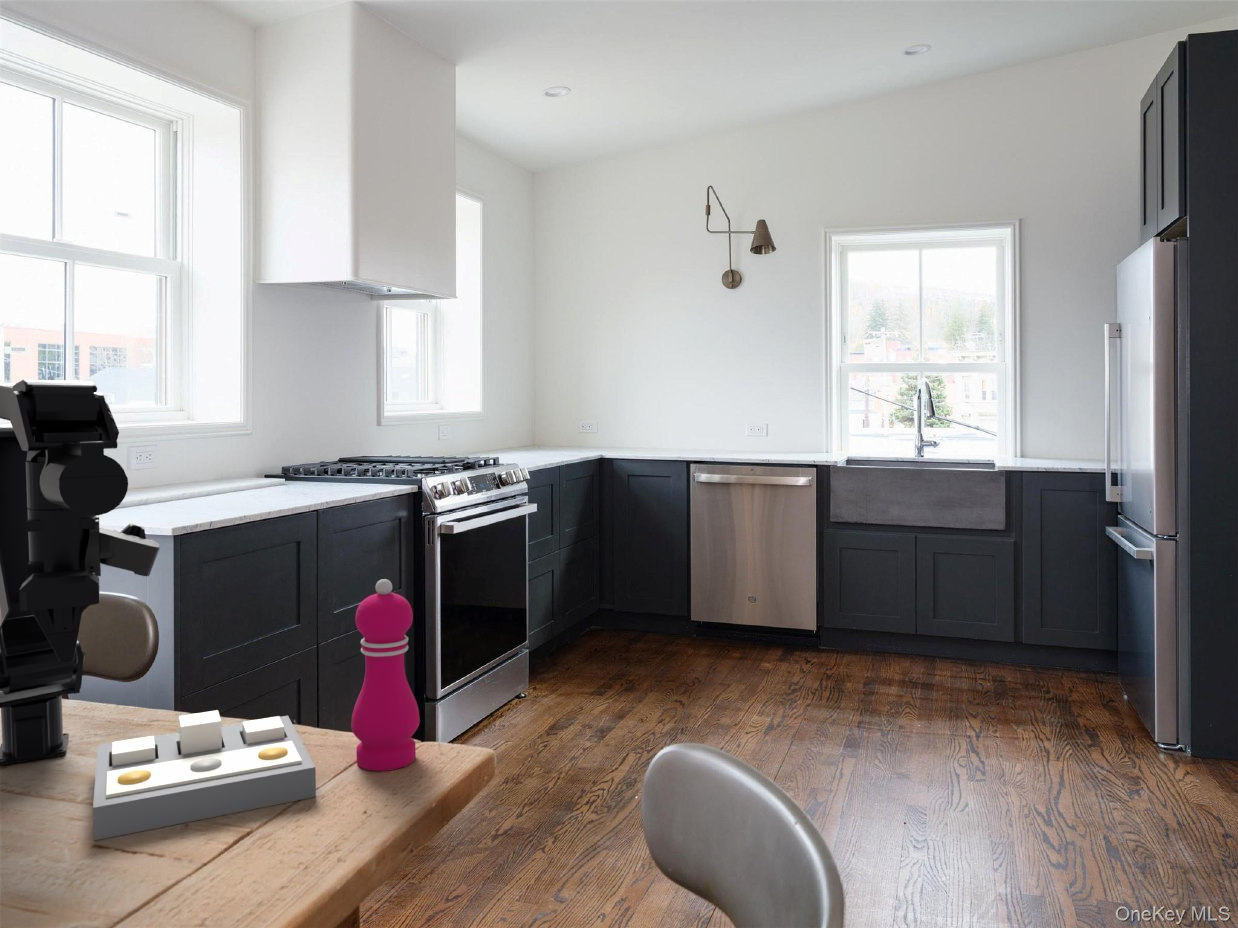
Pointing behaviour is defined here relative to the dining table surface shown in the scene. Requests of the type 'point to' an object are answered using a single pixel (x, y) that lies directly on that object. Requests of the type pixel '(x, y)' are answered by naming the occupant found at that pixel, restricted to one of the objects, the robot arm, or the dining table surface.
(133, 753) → the button
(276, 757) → the button panel
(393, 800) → the dining table surface
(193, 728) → the middle button
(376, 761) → the pepper mill
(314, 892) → the dining table surface
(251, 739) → the button
